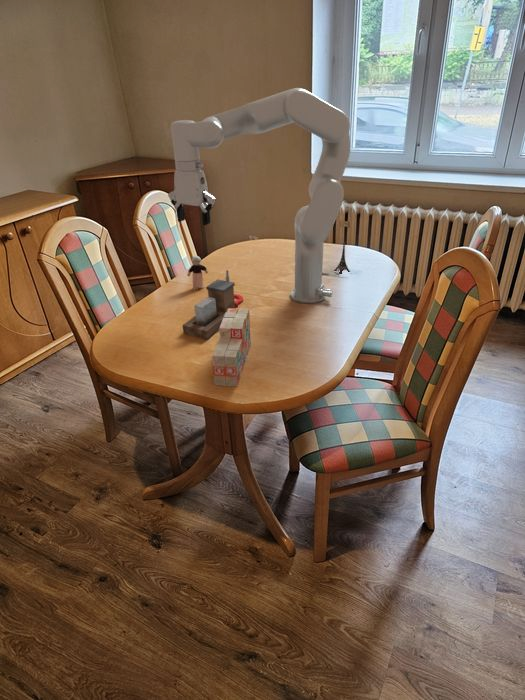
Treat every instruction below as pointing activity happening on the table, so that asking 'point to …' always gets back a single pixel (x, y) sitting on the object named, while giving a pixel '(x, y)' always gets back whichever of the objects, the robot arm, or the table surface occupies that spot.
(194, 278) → the grandmother figurine
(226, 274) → the tow hook
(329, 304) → the table surface
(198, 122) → the robot arm
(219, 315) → the post socket
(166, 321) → the table surface
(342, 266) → the eiffel tower figurine
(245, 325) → the stack of blocks
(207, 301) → the tall grey box
